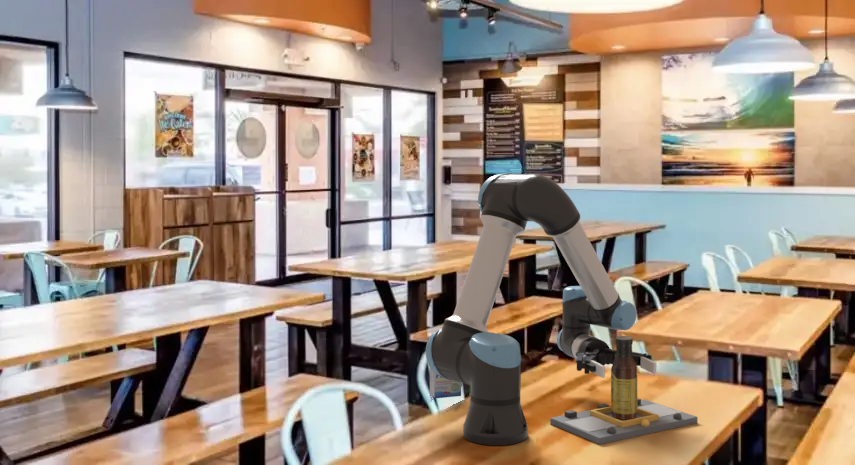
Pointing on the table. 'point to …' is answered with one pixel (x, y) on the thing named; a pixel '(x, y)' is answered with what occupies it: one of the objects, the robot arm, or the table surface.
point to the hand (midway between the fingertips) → (629, 370)
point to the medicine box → (443, 386)
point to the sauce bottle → (624, 381)
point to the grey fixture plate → (621, 422)
